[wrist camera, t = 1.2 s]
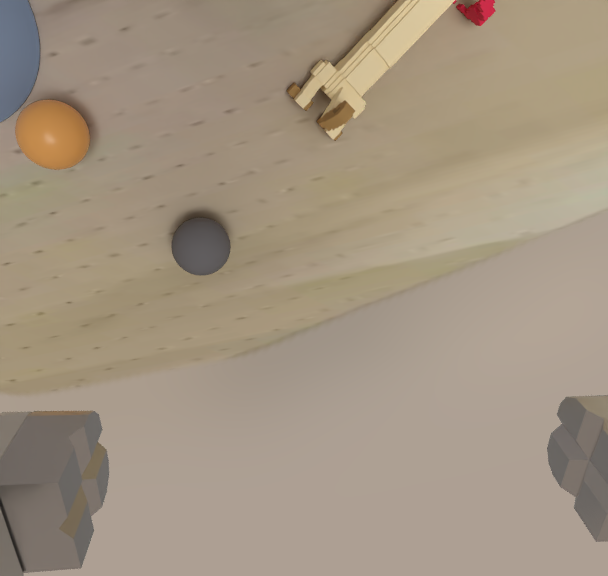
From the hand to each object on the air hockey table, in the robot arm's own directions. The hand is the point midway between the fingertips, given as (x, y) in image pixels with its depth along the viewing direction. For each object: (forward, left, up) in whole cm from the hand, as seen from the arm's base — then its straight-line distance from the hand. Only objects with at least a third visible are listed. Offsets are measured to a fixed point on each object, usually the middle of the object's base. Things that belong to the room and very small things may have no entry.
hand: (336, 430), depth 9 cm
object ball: (-8, -9, -36) cm, 38 cm away
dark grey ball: (+6, -9, -36) cm, 37 cm away
